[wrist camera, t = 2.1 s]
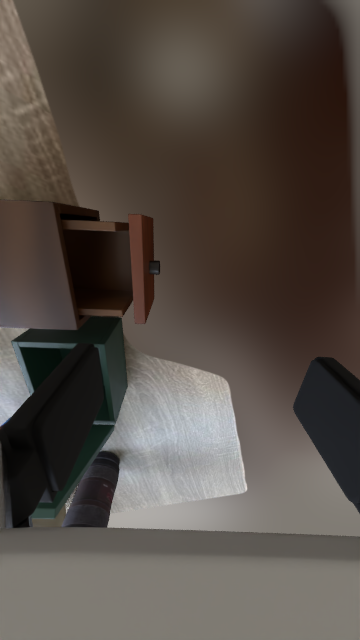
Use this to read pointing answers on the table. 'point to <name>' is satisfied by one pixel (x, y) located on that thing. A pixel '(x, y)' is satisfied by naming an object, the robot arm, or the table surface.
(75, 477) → the lid
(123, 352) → the chest
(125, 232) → the drawer
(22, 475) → the robot arm
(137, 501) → the table surface
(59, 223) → the cabinet
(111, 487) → the camera lens
